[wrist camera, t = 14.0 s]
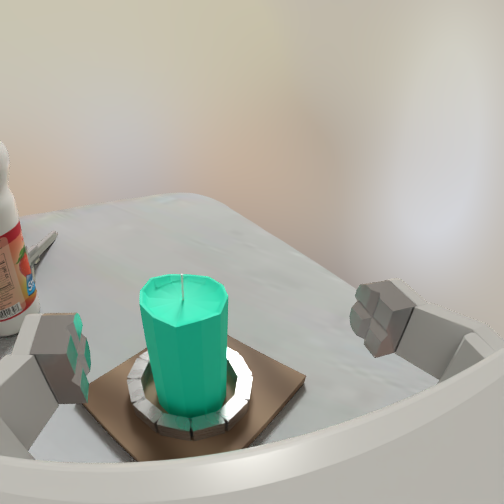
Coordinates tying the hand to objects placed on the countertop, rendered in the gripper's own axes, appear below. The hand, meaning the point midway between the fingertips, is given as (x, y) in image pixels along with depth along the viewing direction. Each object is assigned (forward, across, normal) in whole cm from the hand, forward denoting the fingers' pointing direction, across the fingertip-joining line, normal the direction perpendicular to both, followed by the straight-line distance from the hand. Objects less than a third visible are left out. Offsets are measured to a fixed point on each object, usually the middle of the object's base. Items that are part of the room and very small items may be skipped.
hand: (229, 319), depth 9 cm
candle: (+11, 0, -17) cm, 21 cm away
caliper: (+42, -22, -19) cm, 51 cm away
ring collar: (+11, 0, -17) cm, 21 cm away
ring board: (+11, 0, -18) cm, 21 cm away
